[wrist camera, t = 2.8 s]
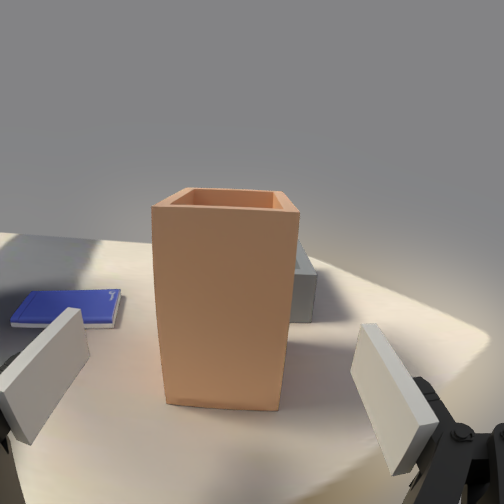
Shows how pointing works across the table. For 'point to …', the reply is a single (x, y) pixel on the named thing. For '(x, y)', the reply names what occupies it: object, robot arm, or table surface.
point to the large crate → (303, 288)
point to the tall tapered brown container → (224, 295)
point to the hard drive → (55, 302)
